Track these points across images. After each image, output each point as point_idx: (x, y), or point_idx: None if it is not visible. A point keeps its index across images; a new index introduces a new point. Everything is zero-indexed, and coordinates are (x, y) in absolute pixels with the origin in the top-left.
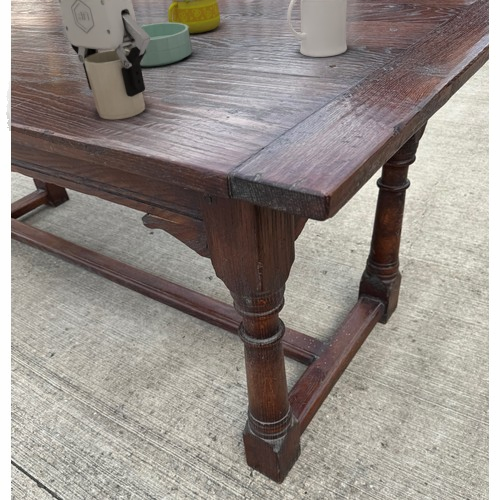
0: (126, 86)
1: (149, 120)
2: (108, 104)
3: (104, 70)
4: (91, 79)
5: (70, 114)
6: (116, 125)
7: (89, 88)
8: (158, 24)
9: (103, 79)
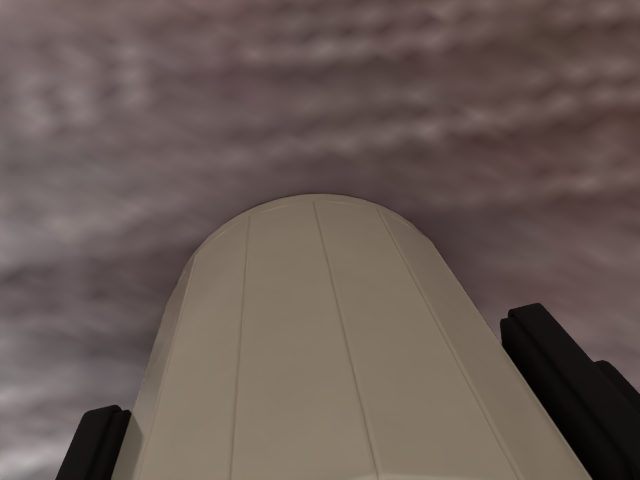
0: (77, 463)
1: (26, 349)
2: (222, 265)
3: None
4: (350, 333)
5: (588, 91)
6: (112, 188)
7: (540, 304)
8: None
9: (184, 397)
